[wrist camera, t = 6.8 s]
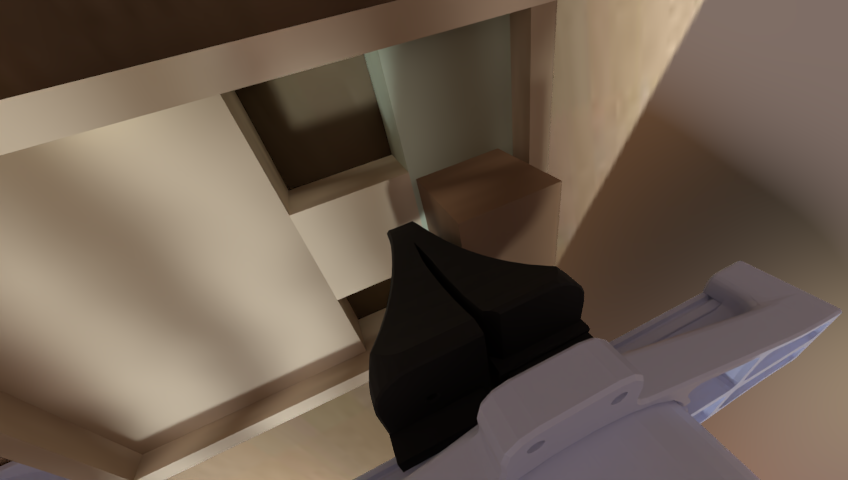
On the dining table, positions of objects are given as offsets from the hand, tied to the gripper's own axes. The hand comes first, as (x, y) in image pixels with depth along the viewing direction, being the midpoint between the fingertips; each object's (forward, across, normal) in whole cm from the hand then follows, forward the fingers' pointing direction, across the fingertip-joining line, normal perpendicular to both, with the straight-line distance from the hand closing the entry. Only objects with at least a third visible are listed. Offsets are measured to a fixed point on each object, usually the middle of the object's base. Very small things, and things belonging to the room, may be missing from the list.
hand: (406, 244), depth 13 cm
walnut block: (+1, -3, 0) cm, 4 cm away
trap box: (+4, +5, 0) cm, 6 cm away
